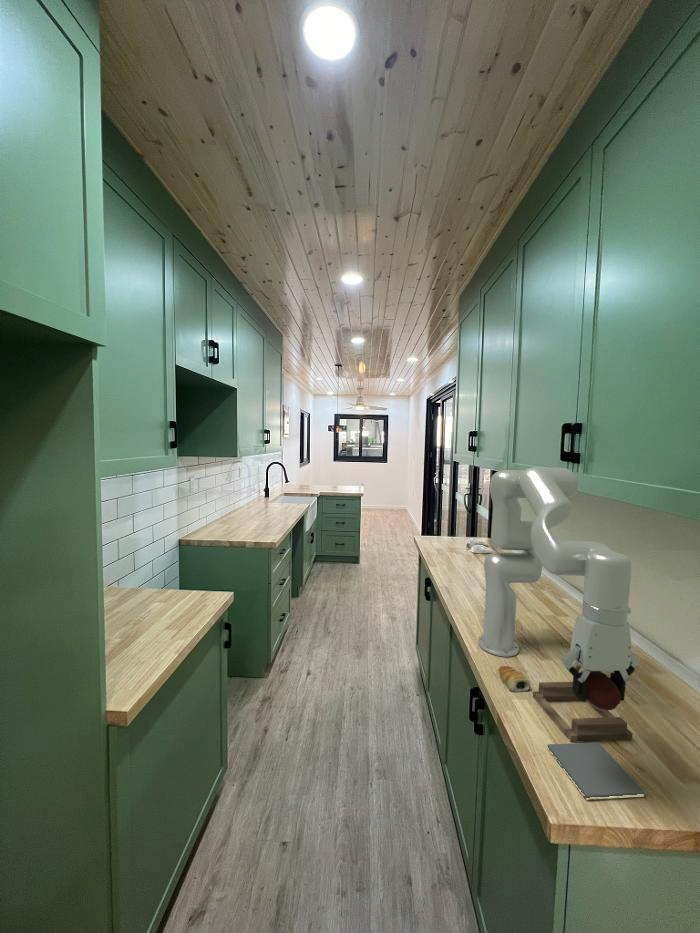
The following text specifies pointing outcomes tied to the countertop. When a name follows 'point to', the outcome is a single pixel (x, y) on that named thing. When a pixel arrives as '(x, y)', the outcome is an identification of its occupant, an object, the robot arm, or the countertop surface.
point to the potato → (602, 691)
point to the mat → (594, 770)
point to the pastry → (513, 679)
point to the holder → (581, 727)
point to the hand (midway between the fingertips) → (597, 696)
